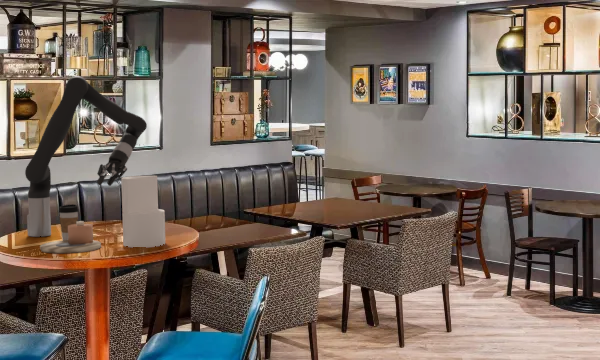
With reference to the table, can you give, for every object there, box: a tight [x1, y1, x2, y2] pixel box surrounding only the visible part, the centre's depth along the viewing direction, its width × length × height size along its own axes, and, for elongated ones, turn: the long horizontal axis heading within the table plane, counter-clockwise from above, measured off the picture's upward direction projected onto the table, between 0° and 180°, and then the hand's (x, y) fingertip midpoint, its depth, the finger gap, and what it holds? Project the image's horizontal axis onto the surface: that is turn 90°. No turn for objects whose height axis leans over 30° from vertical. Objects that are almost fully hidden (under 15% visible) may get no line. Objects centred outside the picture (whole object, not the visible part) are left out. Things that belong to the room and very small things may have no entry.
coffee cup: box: [58, 204, 79, 241], centre depth 360 cm, size 8×8×15 cm
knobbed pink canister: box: [68, 220, 94, 244], centre depth 345 cm, size 10×10×9 cm
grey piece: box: [120, 175, 166, 248], centre depth 347 cm, size 17×17×28 cm
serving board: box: [39, 239, 102, 254], centre depth 340 cm, size 24×24×2 cm
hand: (103, 184), depth 358 cm, fingers open, 5 cm apart
